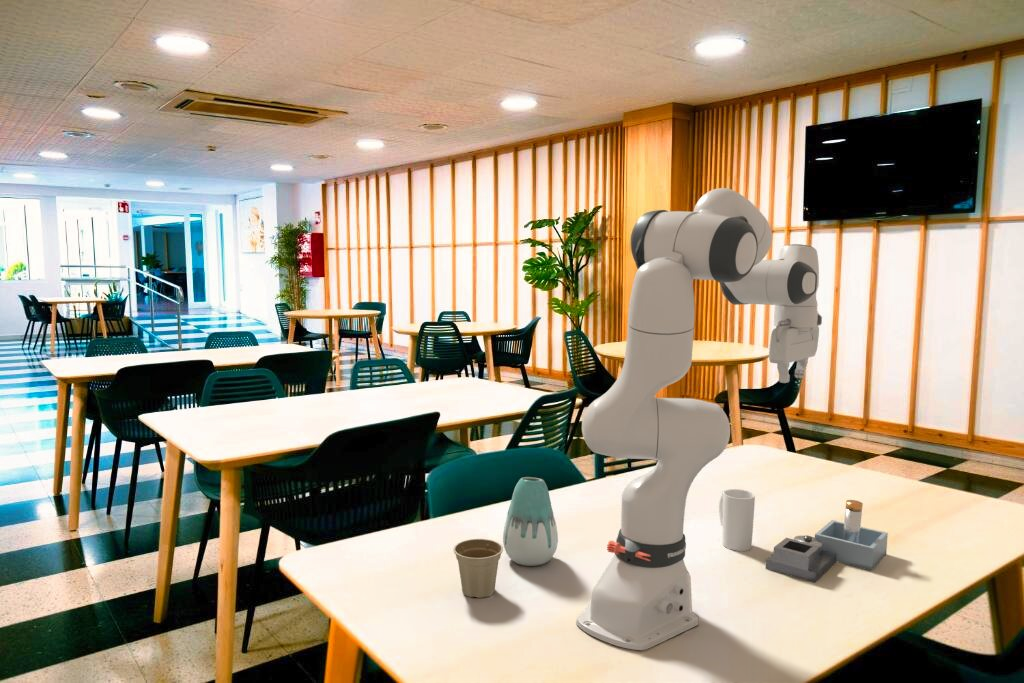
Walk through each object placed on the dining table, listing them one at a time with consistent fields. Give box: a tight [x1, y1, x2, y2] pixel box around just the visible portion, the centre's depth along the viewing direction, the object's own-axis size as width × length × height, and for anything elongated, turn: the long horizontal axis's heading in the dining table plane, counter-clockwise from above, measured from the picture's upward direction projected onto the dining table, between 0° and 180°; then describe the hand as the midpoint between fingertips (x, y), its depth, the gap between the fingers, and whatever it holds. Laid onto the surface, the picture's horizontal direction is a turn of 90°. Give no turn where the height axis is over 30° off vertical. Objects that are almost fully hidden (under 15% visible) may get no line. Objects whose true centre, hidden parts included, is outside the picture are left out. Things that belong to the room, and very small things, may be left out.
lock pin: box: [843, 499, 864, 544], centre depth 154 cm, size 3×3×11 cm
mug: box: [718, 488, 756, 552], centre depth 160 cm, size 10×7×12 cm, turn 20°
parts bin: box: [814, 519, 889, 572], centre depth 155 cm, size 12×12×5 cm
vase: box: [502, 476, 559, 567], centre depth 150 cm, size 12×12×18 cm
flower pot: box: [452, 538, 504, 599], centre depth 136 cm, size 9×9×9 cm
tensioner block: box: [765, 535, 837, 583], centre depth 149 cm, size 13×10×5 cm
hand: (792, 380), depth 159 cm, fingers open, 8 cm apart
